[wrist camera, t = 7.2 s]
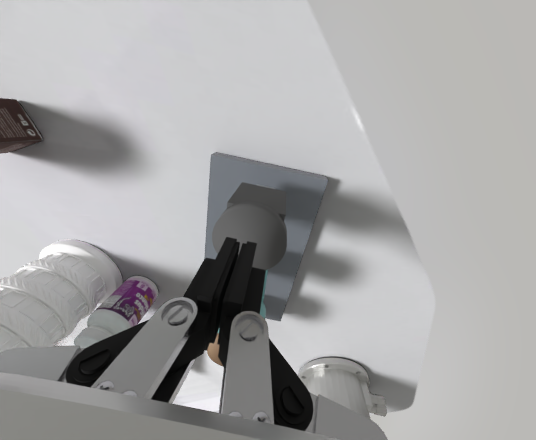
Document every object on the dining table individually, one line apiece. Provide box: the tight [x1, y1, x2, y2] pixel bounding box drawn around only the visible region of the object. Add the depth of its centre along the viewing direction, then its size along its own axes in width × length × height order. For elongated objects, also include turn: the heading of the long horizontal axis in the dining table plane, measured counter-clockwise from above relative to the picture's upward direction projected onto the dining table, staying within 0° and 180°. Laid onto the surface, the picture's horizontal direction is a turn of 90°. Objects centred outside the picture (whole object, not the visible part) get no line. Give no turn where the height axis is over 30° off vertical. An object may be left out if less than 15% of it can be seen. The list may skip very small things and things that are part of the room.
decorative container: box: [0, 239, 123, 352], centre depth 24 cm, size 12×12×18 cm
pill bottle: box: [74, 276, 158, 348], centre depth 28 cm, size 5×5×10 cm
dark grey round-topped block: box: [212, 182, 287, 270], centre depth 16 cm, size 5×5×6 cm
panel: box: [204, 152, 328, 321], centre depth 24 cm, size 12×22×6 cm, turn 169°
